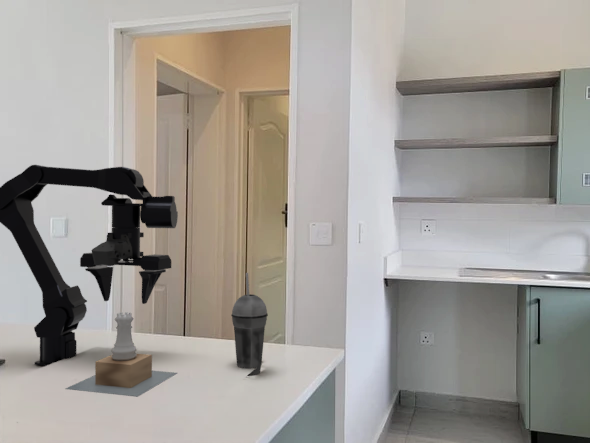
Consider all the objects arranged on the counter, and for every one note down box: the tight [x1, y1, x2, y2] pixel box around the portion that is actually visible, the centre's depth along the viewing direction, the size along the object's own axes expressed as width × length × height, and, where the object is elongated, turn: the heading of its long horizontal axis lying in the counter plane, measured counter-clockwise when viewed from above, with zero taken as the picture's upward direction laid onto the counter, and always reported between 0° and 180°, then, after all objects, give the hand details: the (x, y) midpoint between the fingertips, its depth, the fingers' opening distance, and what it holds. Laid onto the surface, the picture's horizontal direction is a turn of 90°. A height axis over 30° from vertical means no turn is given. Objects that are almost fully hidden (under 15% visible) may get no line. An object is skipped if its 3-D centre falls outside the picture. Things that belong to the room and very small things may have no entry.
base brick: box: [94, 353, 153, 388], centre depth 98 cm, size 7×7×4 cm
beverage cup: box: [231, 272, 268, 377], centre depth 109 cm, size 7×7×20 cm
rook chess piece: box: [111, 312, 138, 361], centre depth 98 cm, size 4×4×8 cm
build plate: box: [64, 370, 178, 398], centre depth 98 cm, size 14×14×2 cm
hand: (125, 302), depth 114 cm, fingers open, 9 cm apart
